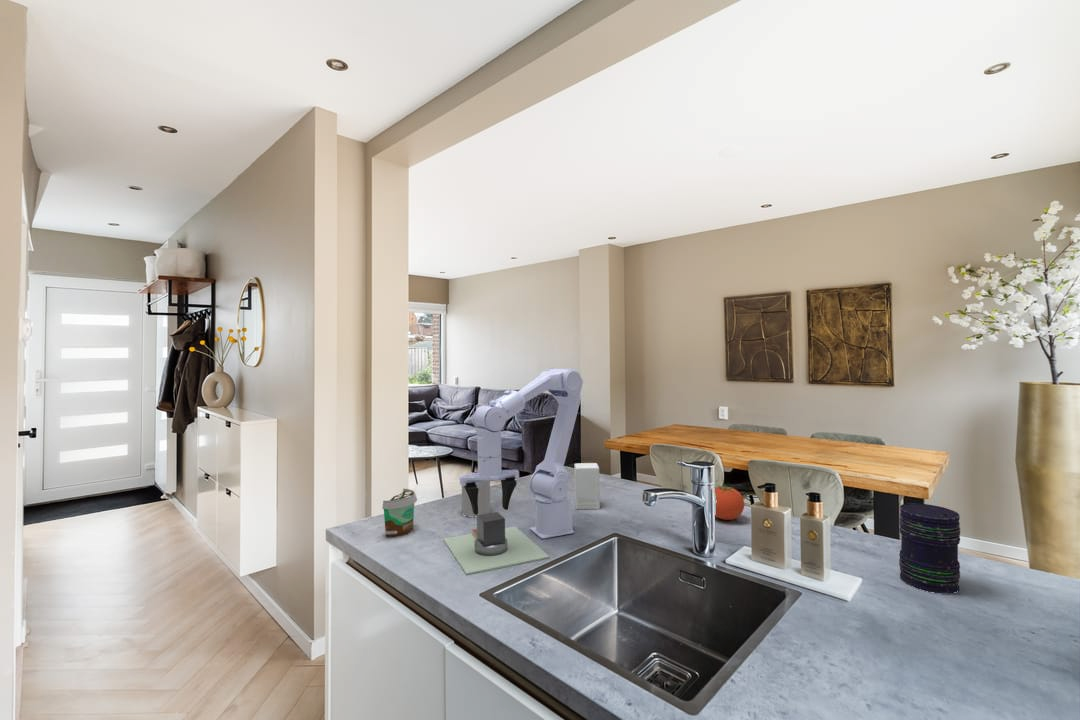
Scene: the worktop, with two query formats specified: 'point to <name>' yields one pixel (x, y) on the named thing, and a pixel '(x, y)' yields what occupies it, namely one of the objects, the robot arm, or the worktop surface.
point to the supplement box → (587, 486)
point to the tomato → (728, 503)
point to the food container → (399, 513)
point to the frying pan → (489, 547)
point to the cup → (482, 500)
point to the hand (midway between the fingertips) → (490, 511)
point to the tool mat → (516, 554)
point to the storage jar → (929, 547)
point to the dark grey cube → (490, 529)
